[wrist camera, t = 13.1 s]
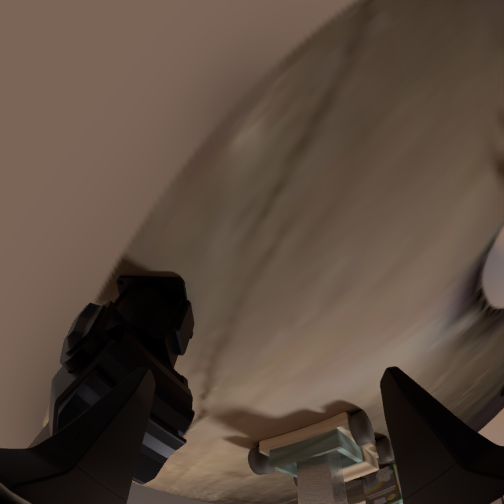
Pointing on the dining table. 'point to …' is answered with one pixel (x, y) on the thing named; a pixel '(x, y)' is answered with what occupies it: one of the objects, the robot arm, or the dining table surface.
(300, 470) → the block
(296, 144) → the dining table surface
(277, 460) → the chassis
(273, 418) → the dining table surface
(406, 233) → the dining table surface
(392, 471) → the chalk box
